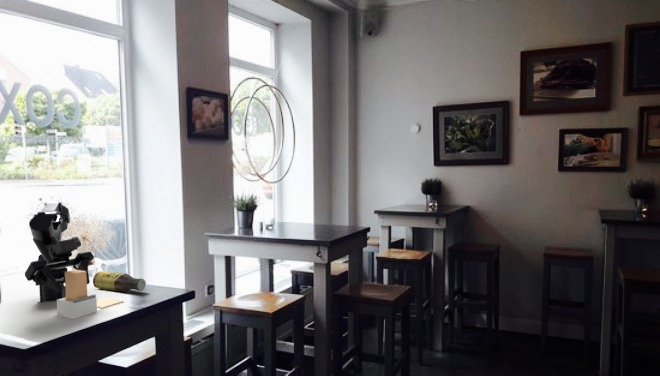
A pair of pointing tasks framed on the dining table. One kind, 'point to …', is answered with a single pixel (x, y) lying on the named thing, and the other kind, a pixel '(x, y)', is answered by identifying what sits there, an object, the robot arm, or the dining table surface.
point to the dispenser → (83, 306)
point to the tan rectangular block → (75, 284)
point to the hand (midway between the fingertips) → (74, 287)
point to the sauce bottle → (117, 281)
